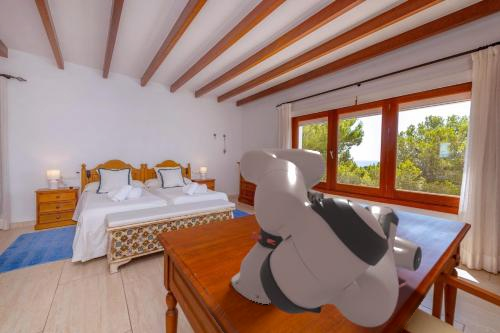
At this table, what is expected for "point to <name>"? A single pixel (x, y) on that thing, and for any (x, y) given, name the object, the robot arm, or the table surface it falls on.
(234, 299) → the table surface
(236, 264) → the table surface
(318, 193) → the stone block
